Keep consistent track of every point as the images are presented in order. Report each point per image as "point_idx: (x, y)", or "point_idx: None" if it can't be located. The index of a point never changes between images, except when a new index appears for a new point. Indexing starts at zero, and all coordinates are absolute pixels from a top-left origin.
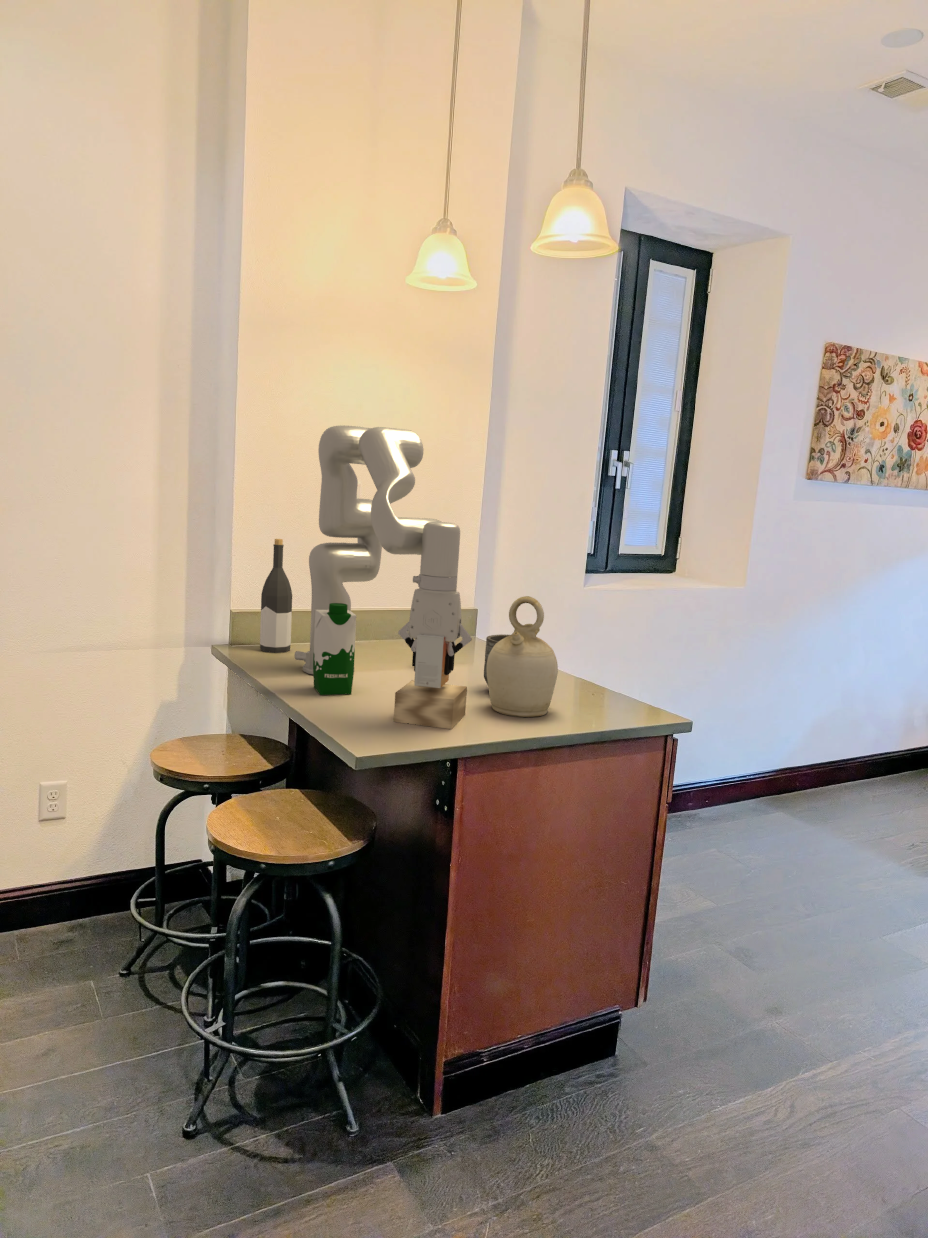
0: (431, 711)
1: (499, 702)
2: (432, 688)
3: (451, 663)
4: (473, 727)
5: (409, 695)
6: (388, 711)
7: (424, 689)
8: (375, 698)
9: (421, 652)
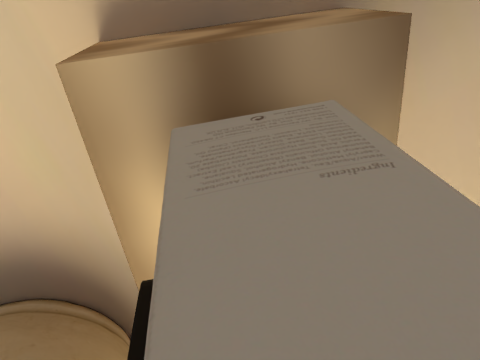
0: (189, 36)
1: (63, 328)
2: None
3: (140, 315)
4: (47, 119)
5: (325, 24)
6: None
7: None
8: None
9: (428, 225)
